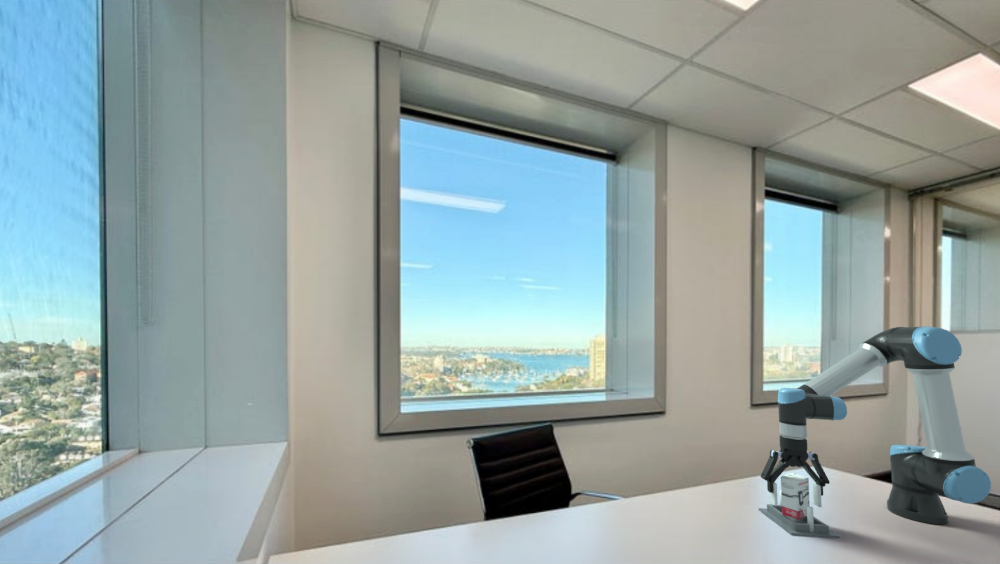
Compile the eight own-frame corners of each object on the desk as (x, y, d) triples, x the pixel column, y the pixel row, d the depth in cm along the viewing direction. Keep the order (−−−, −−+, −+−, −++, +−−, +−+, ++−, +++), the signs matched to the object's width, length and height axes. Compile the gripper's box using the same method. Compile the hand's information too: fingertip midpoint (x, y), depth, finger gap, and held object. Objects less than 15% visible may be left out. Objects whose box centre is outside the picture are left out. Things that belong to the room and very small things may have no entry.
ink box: (798, 520, 133) (797, 481, 134) (781, 514, 137) (780, 476, 138) (810, 514, 138) (809, 476, 139) (793, 509, 142) (792, 472, 143)
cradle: (800, 512, 146) (799, 489, 146) (839, 538, 128) (838, 511, 129) (758, 510, 146) (757, 486, 147) (791, 535, 129) (790, 508, 129)
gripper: (824, 435, 143) (827, 502, 141) (747, 431, 145) (749, 497, 142) (841, 441, 136) (844, 511, 133) (760, 437, 137) (762, 506, 135)
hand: (795, 504), depth 138 cm, fingers open, 13 cm apart
